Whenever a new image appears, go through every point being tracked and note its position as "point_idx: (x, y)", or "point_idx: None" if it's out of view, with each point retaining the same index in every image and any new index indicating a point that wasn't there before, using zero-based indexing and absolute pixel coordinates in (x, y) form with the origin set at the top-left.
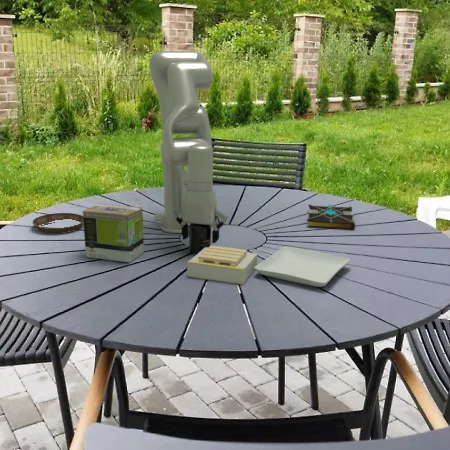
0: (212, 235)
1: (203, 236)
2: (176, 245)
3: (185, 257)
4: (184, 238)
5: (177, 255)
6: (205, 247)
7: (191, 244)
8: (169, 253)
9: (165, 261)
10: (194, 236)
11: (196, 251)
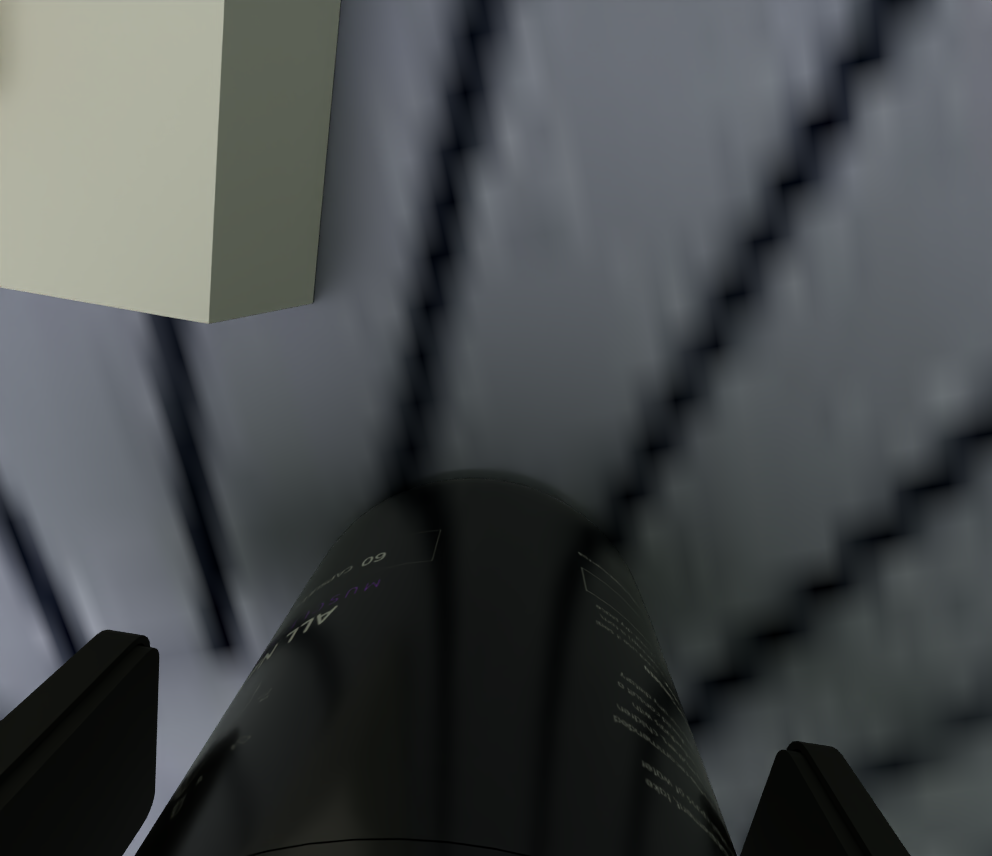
0: (19, 772)
1: (282, 704)
2: None
3: (653, 354)
4: (804, 759)
5: (795, 420)
6: (196, 295)
7: (607, 589)
8: (934, 483)
9: (976, 87)
10: (548, 681)
11: (495, 495)
